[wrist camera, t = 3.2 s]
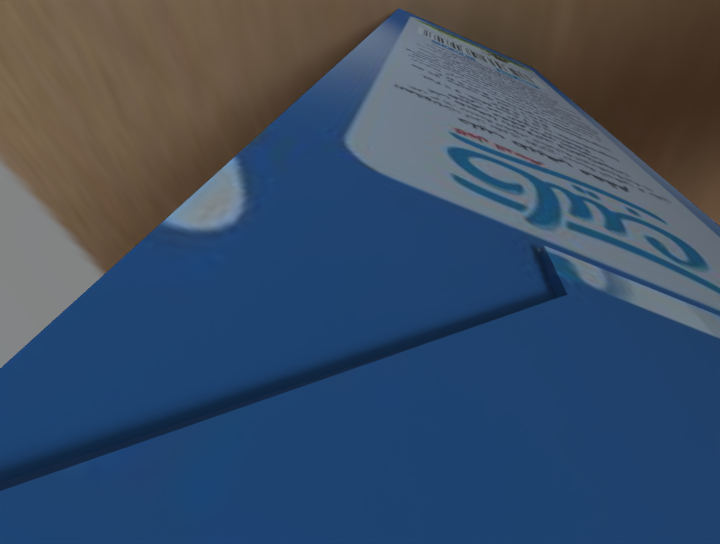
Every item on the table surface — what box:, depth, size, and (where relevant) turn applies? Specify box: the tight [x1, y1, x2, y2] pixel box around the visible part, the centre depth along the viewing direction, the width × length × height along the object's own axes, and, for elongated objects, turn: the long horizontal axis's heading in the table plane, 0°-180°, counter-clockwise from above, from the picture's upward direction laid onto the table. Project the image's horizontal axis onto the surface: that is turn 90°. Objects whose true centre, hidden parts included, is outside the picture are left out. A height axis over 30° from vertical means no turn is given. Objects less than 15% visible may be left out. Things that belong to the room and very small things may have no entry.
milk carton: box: [0, 9, 720, 544], centre depth 12 cm, size 10×6×20 cm, turn 159°
